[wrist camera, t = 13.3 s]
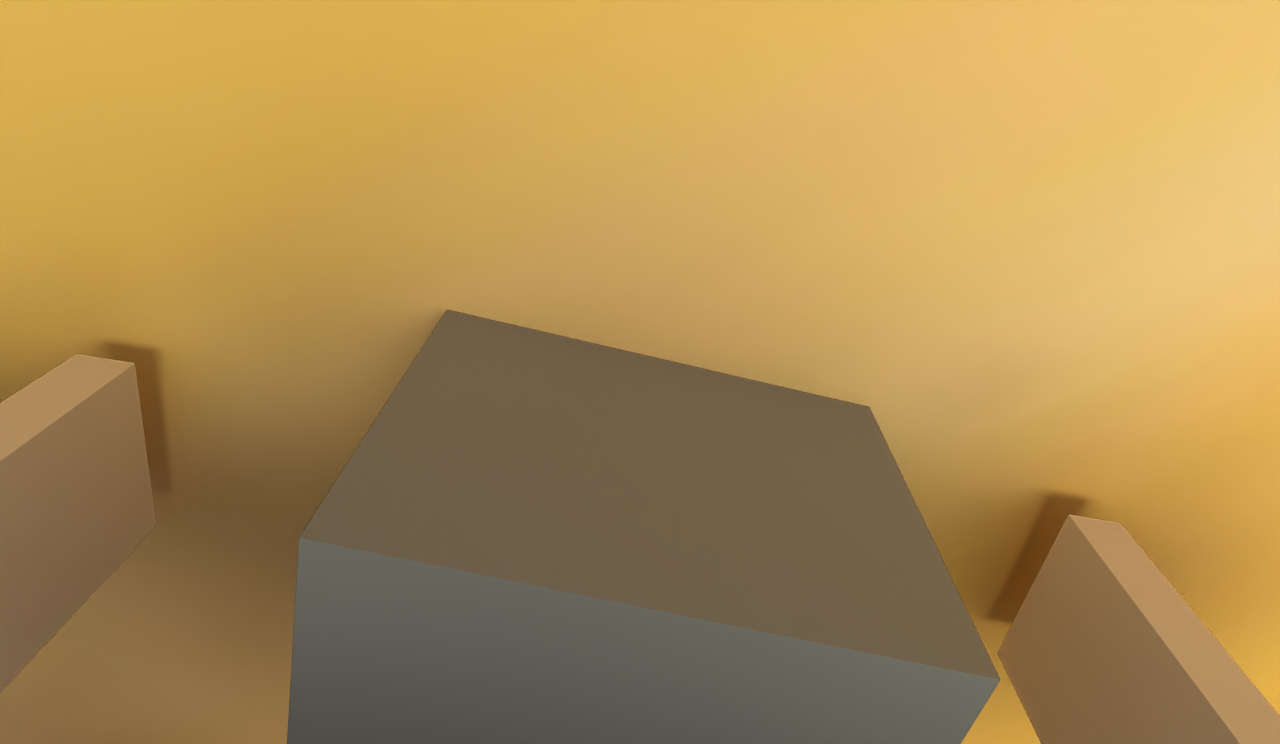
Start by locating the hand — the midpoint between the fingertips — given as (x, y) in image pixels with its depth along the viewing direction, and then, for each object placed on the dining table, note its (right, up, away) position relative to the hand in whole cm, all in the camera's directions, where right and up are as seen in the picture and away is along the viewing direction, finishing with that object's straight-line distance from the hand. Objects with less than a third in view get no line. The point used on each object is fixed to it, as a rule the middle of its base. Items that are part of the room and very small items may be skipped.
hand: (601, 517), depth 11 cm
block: (0, -1, +1) cm, 2 cm away
